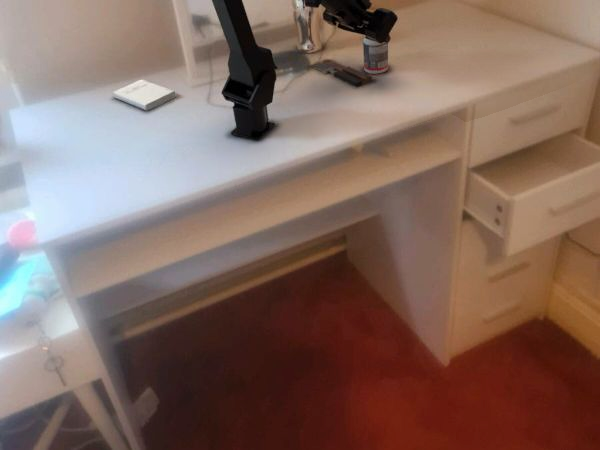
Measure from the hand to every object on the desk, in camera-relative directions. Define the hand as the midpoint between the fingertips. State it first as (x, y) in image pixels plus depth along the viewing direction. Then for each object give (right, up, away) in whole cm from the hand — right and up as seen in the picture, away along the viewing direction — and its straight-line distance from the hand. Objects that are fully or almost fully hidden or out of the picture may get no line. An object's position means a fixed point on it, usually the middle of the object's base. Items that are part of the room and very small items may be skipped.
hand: (380, 37), depth 131 cm
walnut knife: (-7, -6, +4) cm, 11 cm away
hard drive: (-52, -12, +4) cm, 54 cm away
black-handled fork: (-9, -7, +3) cm, 12 cm away
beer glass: (-15, +3, +17) cm, 23 cm away
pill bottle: (0, -6, +4) cm, 7 cm away
